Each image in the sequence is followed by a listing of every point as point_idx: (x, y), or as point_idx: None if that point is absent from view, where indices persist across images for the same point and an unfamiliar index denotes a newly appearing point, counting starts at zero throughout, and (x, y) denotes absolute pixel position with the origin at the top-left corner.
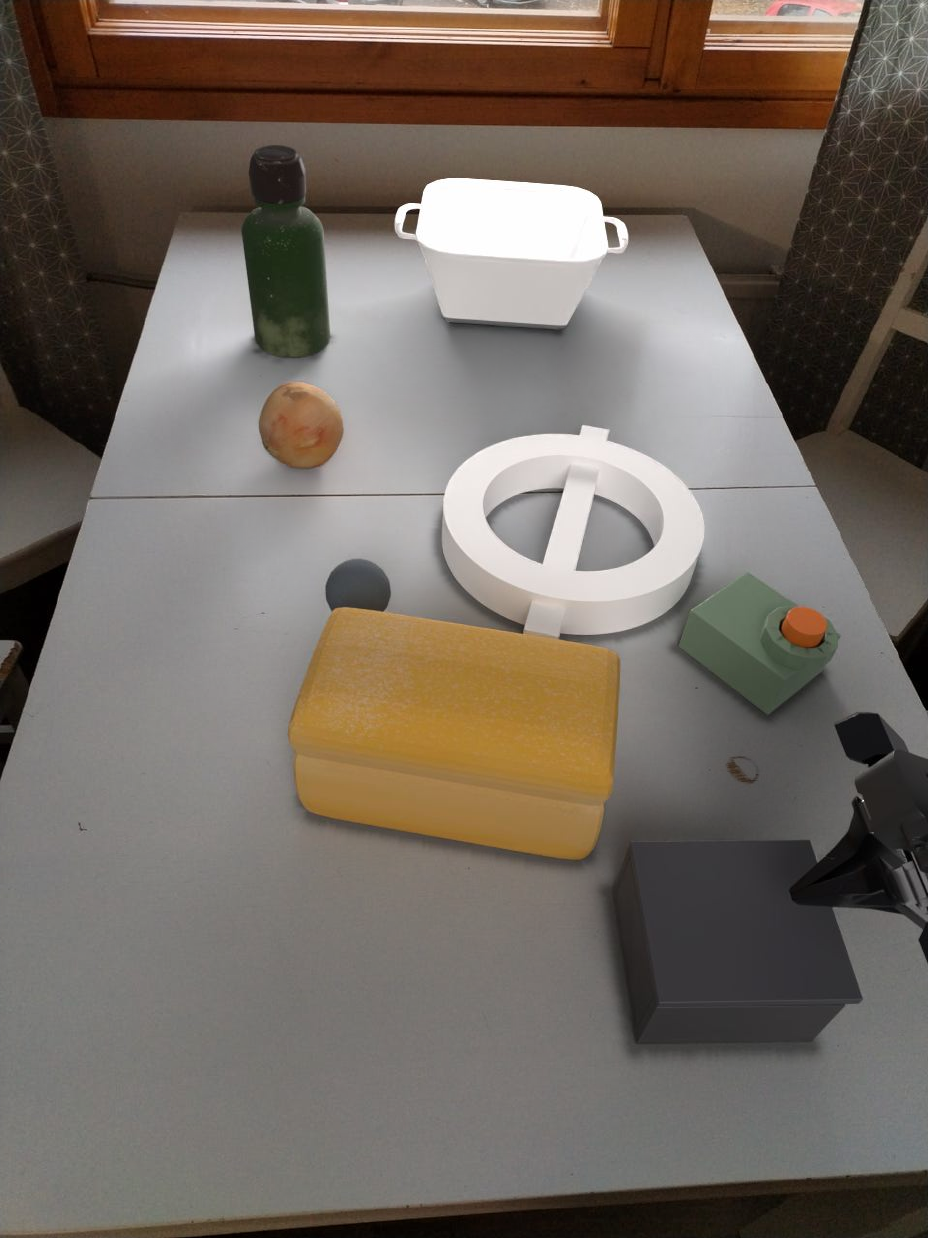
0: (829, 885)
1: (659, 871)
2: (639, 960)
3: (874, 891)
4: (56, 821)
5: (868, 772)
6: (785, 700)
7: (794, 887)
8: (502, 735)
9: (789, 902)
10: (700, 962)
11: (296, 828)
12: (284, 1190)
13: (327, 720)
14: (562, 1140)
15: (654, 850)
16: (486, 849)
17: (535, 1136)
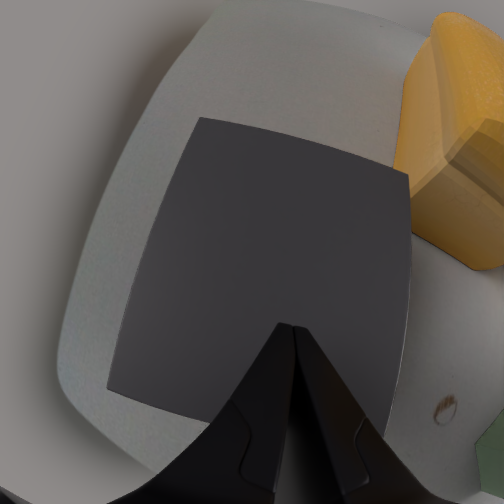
0: (271, 392)
1: (370, 186)
2: None
3: (122, 497)
4: (382, 23)
5: None
6: (478, 460)
7: (305, 333)
8: (480, 55)
9: None
10: (231, 175)
11: (394, 71)
12: (204, 31)
13: (448, 15)
14: (164, 122)
15: (398, 194)
16: (393, 147)
17: (174, 109)
